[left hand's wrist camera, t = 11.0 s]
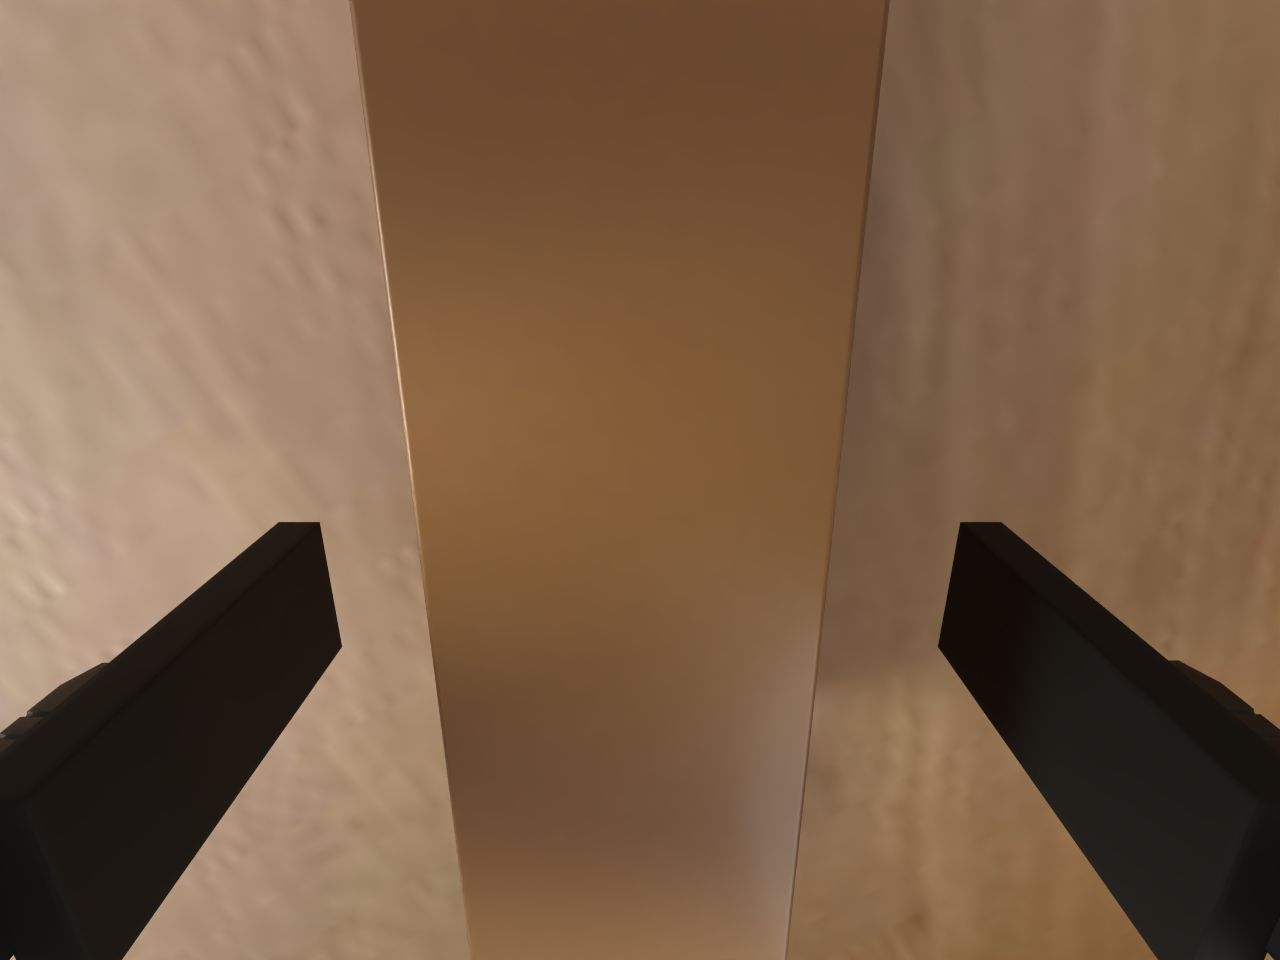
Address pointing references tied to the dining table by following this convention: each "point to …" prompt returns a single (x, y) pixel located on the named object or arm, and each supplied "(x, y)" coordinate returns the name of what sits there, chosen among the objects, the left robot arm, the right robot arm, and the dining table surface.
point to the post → (623, 437)
